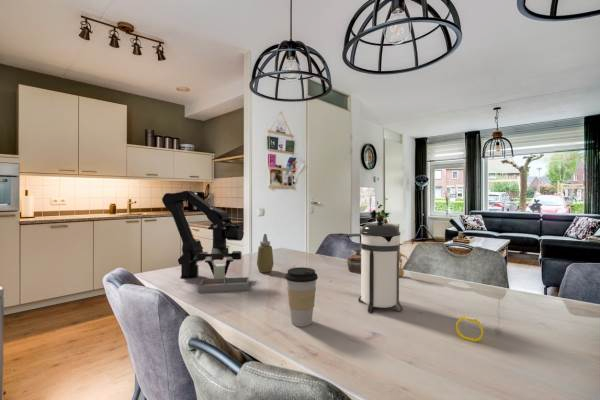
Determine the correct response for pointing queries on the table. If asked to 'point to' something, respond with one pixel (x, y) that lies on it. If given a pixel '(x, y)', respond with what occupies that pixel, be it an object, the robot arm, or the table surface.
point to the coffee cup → (301, 294)
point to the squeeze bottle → (265, 256)
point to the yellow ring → (471, 319)
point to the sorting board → (223, 284)
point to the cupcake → (354, 261)
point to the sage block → (219, 271)
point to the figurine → (401, 264)
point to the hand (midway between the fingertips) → (219, 275)
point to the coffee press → (380, 265)
